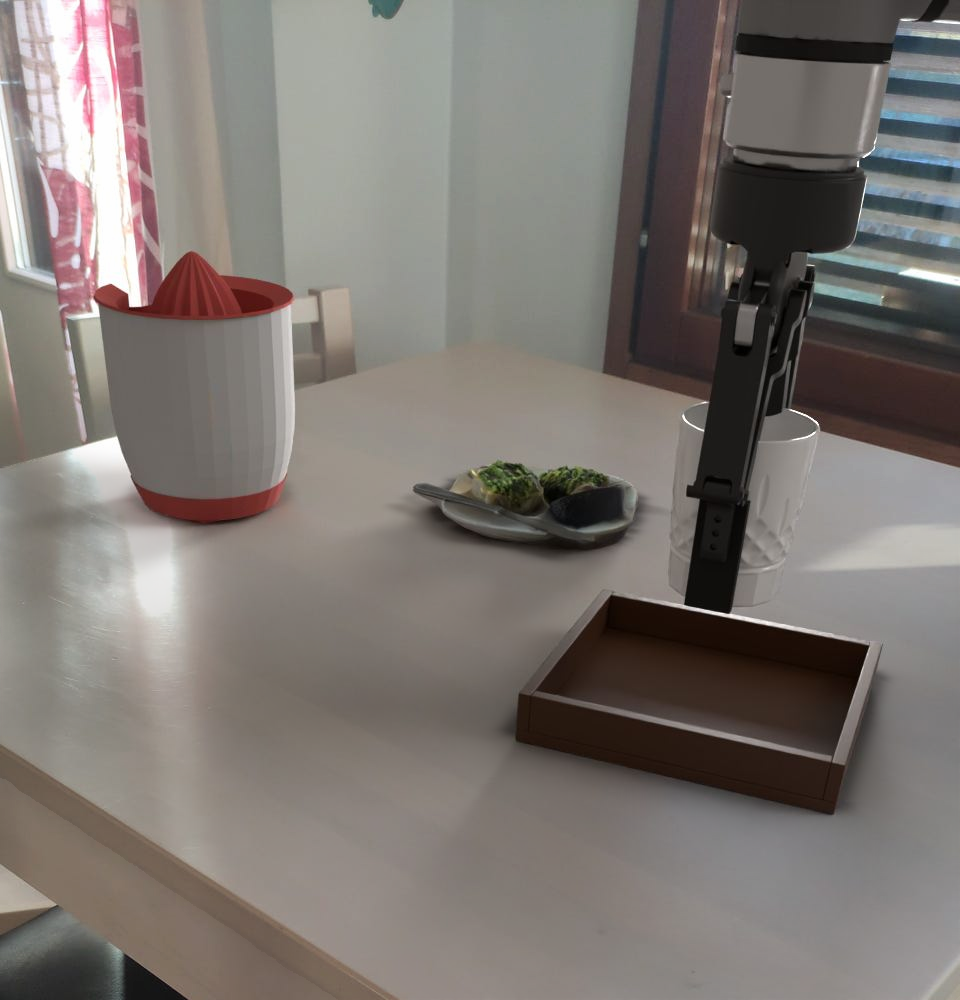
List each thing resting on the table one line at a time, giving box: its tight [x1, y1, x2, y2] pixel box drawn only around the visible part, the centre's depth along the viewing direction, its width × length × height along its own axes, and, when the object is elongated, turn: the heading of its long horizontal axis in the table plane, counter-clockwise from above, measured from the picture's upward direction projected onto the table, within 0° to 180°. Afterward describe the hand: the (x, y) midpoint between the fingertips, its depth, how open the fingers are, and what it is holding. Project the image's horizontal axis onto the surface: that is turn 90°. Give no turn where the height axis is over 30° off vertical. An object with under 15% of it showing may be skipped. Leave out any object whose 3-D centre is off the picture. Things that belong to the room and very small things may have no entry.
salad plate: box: [412, 460, 639, 551], centre depth 109 cm, size 19×18×5 cm
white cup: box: [667, 401, 821, 608], centre depth 74 cm, size 8×8×10 cm
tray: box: [514, 588, 884, 815], centre depth 81 cm, size 20×18×3 cm
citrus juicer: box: [93, 250, 296, 525], centre depth 104 cm, size 16×17×20 cm
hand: (723, 582), depth 77 cm, fingers closed on white cup, 7 cm apart
